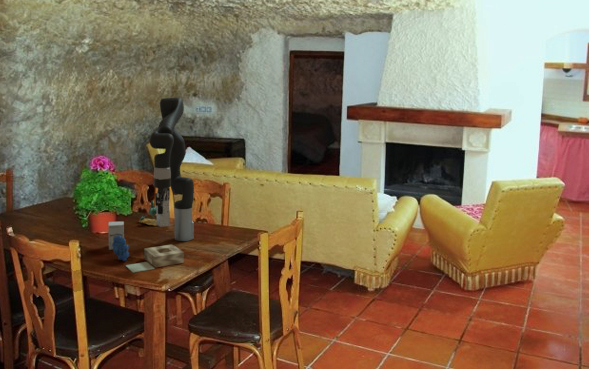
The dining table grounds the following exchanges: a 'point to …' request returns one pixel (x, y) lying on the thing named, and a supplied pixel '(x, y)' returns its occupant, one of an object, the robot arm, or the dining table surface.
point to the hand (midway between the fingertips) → (162, 212)
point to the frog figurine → (153, 222)
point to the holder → (163, 255)
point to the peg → (163, 218)
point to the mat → (140, 267)
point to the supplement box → (115, 231)
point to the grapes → (120, 247)
